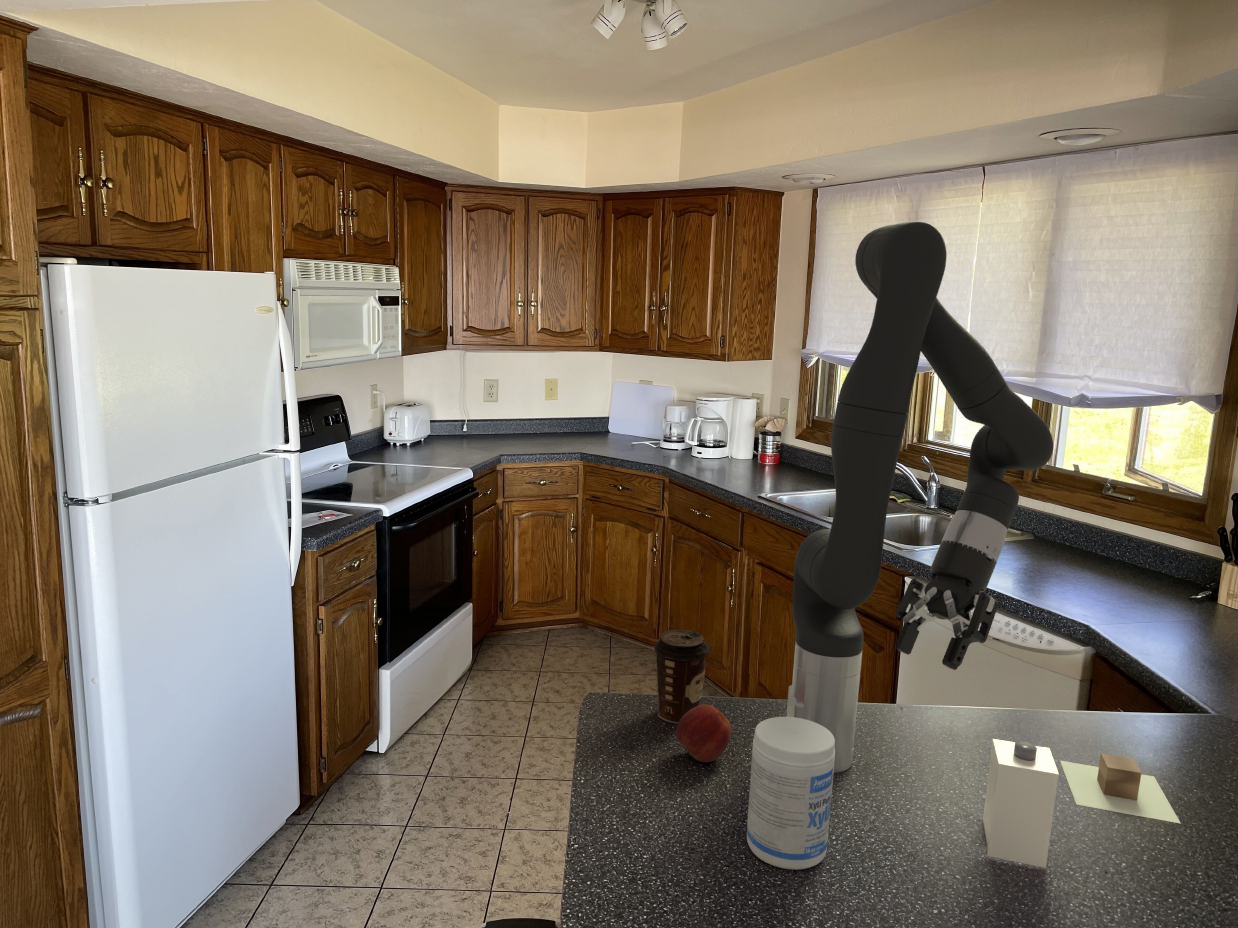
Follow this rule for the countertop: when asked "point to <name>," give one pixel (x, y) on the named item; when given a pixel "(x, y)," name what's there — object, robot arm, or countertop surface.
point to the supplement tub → (790, 792)
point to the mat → (1091, 795)
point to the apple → (704, 733)
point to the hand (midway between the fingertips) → (924, 659)
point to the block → (1119, 776)
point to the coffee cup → (679, 672)
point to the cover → (1020, 802)
